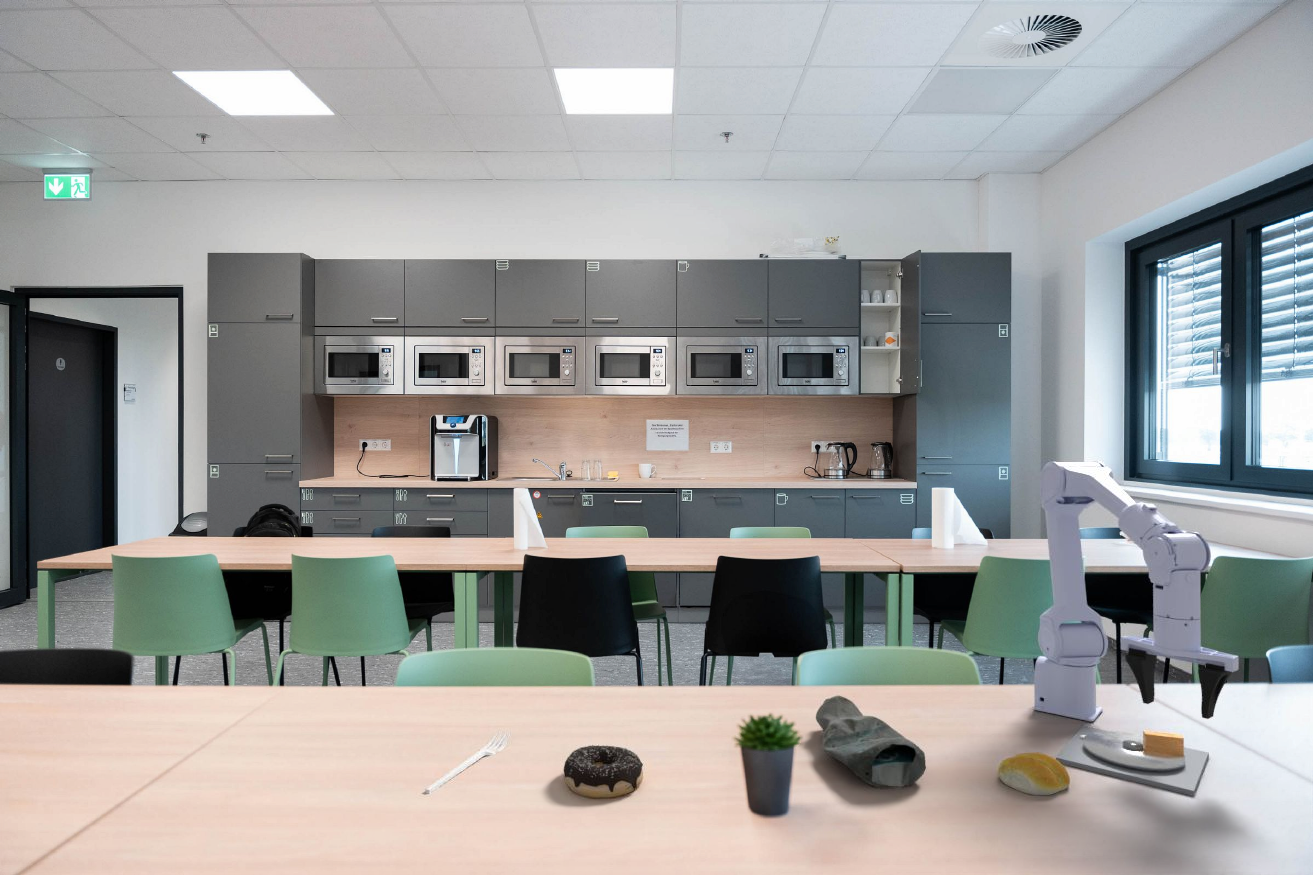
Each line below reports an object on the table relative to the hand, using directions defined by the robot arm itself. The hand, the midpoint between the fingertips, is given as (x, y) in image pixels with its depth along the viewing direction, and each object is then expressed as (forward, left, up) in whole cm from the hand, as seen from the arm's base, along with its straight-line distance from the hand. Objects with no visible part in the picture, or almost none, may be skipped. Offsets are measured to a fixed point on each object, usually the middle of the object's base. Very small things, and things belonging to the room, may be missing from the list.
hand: (1177, 709), depth 113 cm
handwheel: (-6, 0, -9) cm, 10 cm away
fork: (-80, -66, -9) cm, 104 cm away
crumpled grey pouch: (-37, -26, -9) cm, 46 cm away
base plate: (-6, 0, -9) cm, 10 cm away
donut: (-61, -57, -9) cm, 84 cm away
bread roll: (-15, -18, -9) cm, 25 cm away
